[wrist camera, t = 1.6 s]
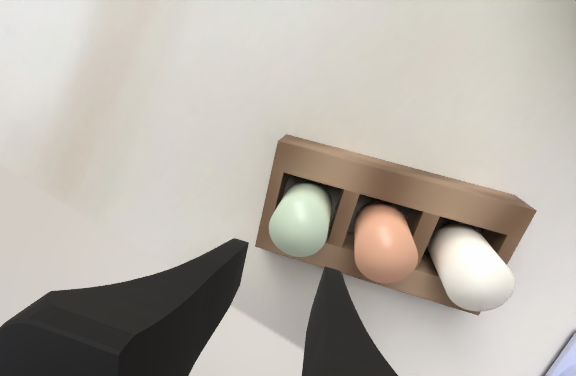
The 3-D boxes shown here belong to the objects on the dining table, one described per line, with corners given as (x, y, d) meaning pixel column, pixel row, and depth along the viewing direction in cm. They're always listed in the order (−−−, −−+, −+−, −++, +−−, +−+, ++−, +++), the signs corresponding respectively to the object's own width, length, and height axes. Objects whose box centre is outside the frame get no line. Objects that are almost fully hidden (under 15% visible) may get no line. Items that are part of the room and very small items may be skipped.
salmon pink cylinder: (413, 209, 19) (427, 239, 15) (396, 253, 20) (405, 291, 16) (362, 195, 19) (365, 221, 15) (348, 238, 20) (347, 272, 16)
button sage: (338, 188, 19) (334, 213, 16) (324, 231, 20) (318, 264, 17) (289, 174, 19) (275, 195, 16) (279, 218, 20) (263, 247, 17)
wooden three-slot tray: (514, 195, 19) (536, 210, 17) (465, 290, 21) (478, 315, 19) (286, 134, 20) (278, 141, 18) (264, 230, 23) (255, 246, 20)
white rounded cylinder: (493, 231, 18) (527, 268, 15) (471, 275, 19) (497, 319, 16) (439, 216, 18) (460, 249, 15) (420, 260, 19) (435, 300, 16)
